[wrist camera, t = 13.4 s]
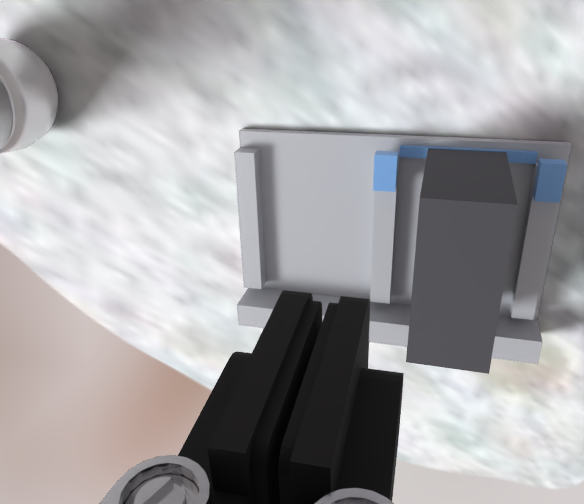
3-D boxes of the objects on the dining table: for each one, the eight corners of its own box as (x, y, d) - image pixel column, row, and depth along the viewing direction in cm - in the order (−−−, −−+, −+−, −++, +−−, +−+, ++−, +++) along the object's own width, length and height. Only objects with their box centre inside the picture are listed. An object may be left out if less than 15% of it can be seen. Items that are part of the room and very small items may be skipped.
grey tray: (242, 128, 33) (224, 141, 31) (569, 141, 29) (581, 158, 26) (253, 301, 39) (238, 324, 36) (532, 334, 34) (538, 363, 32)
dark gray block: (427, 148, 30) (419, 197, 24) (506, 152, 29) (517, 204, 23) (415, 290, 34) (406, 361, 28) (483, 297, 33) (488, 373, 28)
